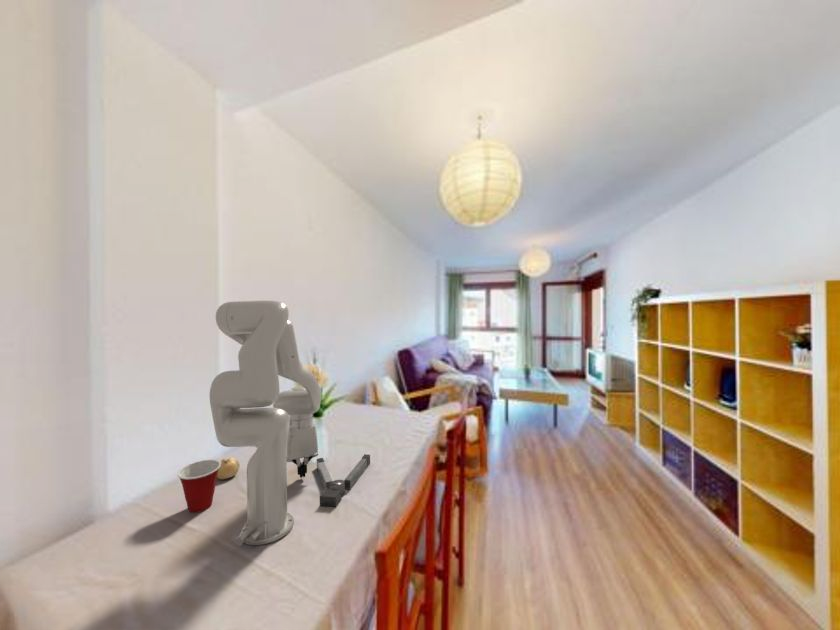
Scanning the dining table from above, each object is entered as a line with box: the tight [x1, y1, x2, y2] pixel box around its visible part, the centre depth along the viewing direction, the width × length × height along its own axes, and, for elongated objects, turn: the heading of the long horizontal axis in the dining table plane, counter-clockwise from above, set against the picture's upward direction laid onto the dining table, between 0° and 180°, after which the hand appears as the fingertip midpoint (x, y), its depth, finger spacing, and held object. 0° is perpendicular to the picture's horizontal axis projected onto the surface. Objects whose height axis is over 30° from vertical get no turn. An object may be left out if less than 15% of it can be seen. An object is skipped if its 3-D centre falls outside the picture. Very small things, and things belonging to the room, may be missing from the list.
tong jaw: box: [316, 457, 346, 498], centre depth 112 cm, size 25×5×4 cm, turn 25°
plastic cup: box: [176, 459, 221, 514], centre depth 97 cm, size 11×11×12 cm
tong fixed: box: [319, 453, 371, 509], centre depth 110 cm, size 30×6×3 cm, turn 170°
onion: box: [217, 457, 241, 480], centre depth 117 cm, size 8×8×7 cm
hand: (302, 475), depth 113 cm, fingers closed
